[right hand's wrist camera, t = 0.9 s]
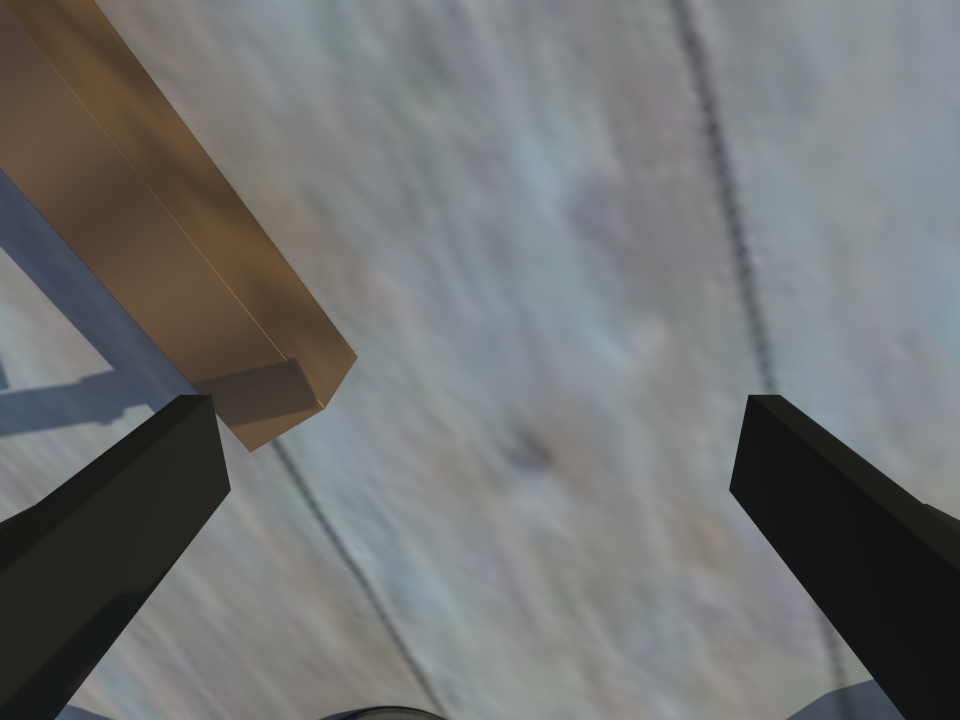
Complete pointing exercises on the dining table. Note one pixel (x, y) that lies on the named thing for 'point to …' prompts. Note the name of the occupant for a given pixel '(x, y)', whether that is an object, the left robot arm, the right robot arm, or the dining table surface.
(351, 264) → the dining table surface
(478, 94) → the dining table surface
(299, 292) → the bar
